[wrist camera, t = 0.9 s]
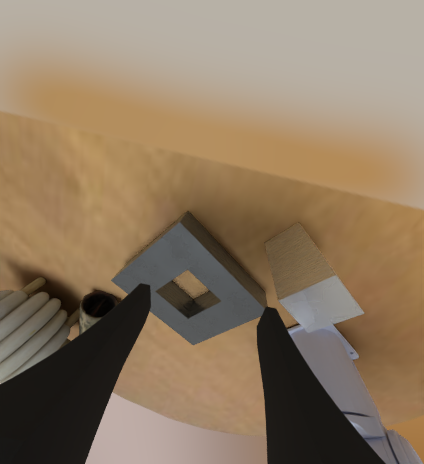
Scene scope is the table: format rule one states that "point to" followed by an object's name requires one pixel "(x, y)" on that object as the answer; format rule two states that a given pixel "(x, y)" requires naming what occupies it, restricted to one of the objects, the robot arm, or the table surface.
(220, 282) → the grey slab with hole
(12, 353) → the toy sheep
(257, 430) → the table surface
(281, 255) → the grey wooden block
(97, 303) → the tube with rough end
